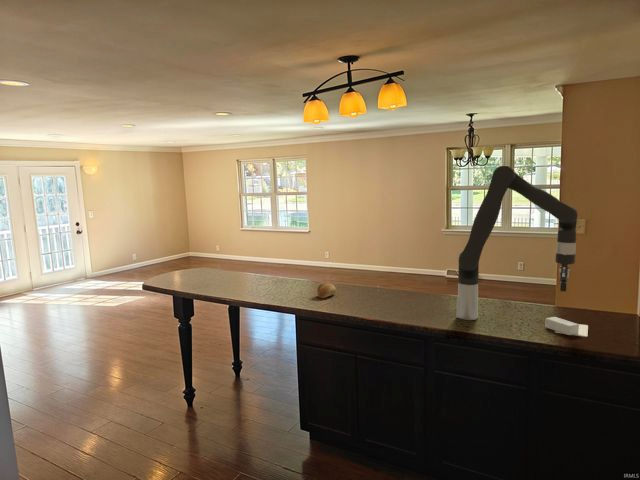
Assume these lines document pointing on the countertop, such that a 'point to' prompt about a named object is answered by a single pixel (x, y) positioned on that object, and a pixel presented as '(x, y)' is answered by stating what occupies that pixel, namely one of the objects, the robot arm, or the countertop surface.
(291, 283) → the countertop surface
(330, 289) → the bread roll
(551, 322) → the skincare box
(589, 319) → the countertop surface
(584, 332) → the mat
